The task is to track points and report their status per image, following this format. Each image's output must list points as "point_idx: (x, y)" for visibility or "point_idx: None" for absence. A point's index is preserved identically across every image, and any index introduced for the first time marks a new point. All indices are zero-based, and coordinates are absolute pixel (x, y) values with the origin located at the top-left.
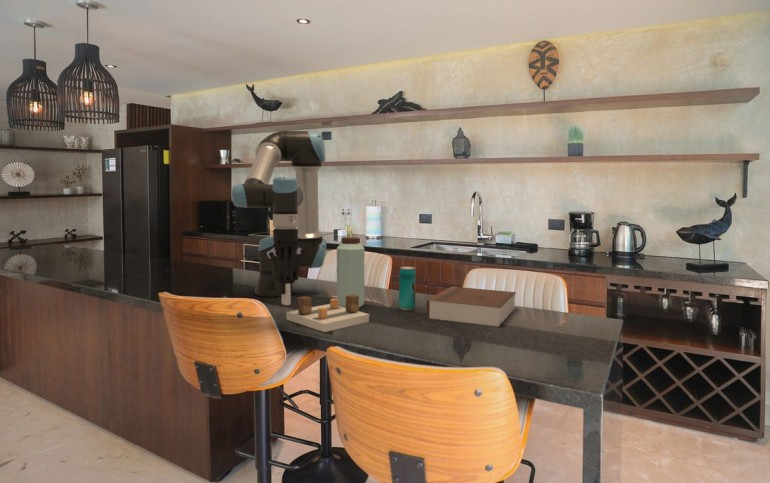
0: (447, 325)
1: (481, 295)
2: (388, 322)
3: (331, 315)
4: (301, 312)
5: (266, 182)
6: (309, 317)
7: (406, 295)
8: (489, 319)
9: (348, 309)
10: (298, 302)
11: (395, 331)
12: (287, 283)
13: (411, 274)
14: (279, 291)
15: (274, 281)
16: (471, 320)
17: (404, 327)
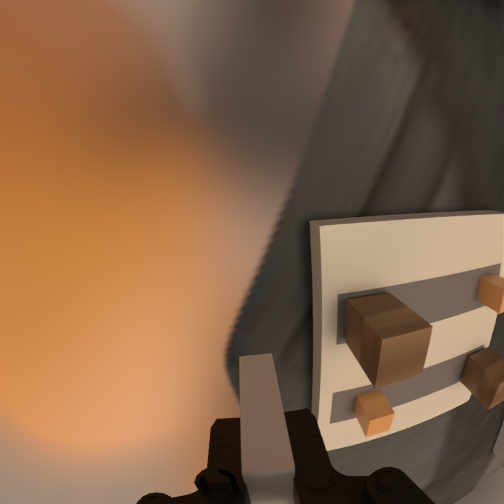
0: (481, 439)
1: None
2: (468, 404)
3: (409, 384)
4: (347, 328)
5: None
6: (338, 377)
7: None
8: (498, 450)
9: (468, 372)
10: (368, 326)
11: (417, 458)
12: (280, 494)
13: None
14: (210, 432)
15: (150, 496)
16: (501, 436)
17: (448, 440)
